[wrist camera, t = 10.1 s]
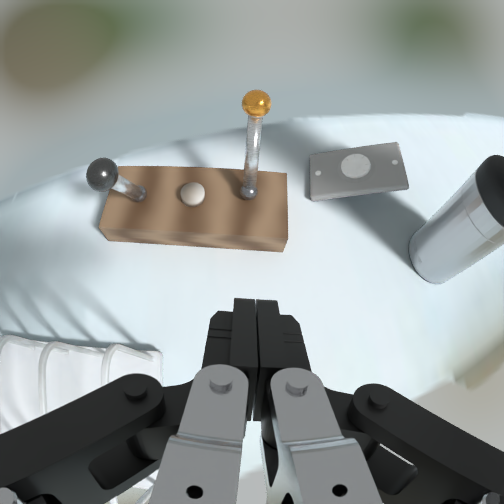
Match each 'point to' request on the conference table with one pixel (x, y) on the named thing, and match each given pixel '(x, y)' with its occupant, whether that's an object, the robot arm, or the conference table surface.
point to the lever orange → (253, 139)
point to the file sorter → (64, 379)
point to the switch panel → (199, 209)
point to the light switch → (357, 172)
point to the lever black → (112, 180)
